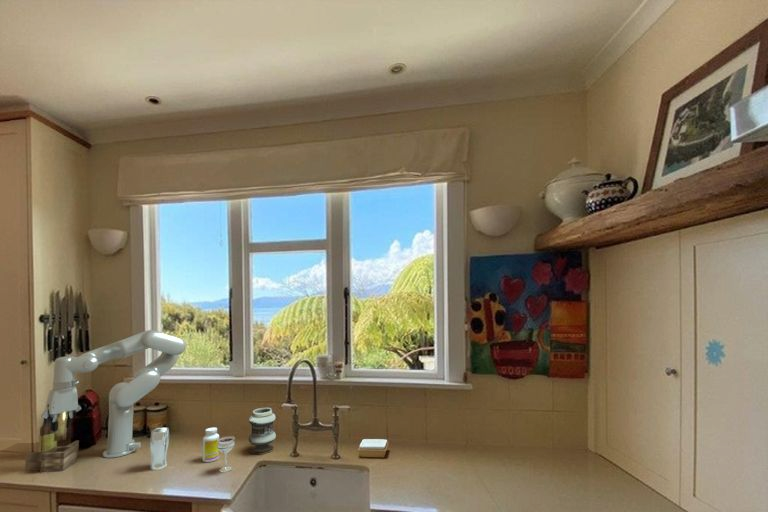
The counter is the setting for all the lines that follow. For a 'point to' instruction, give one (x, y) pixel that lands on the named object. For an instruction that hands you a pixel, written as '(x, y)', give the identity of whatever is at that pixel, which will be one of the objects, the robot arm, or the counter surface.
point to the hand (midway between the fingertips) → (60, 428)
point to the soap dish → (373, 448)
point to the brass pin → (61, 426)
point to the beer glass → (159, 447)
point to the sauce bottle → (46, 437)
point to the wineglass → (226, 449)
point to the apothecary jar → (262, 430)
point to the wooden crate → (53, 458)
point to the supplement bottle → (210, 445)
